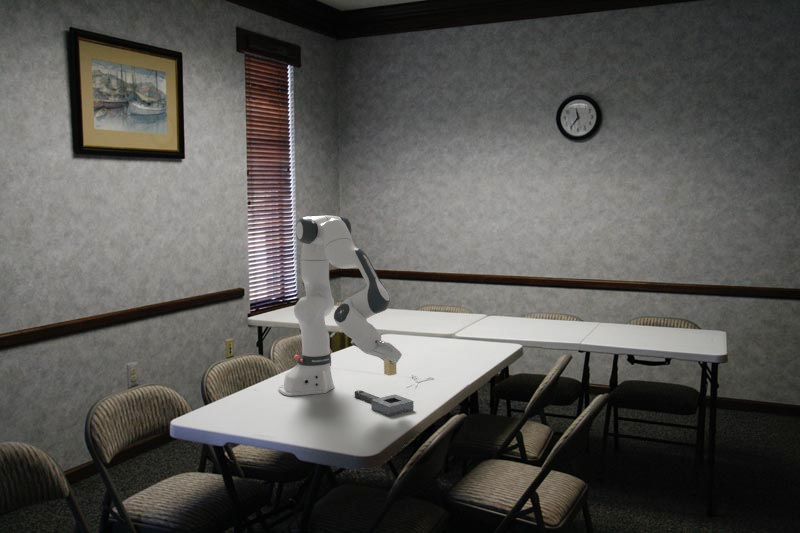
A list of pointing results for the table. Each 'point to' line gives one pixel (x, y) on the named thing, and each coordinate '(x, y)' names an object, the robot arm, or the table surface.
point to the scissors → (420, 381)
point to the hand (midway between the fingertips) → (391, 361)
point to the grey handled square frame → (386, 403)
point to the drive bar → (389, 368)
